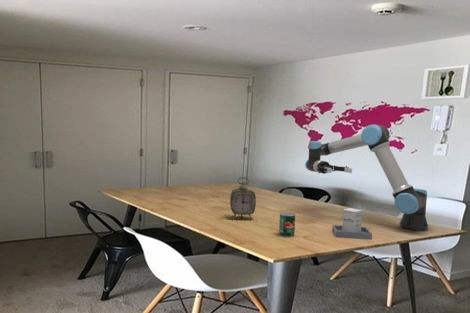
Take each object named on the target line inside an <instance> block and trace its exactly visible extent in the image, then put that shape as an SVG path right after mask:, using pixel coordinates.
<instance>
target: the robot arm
mask: <svg viewBox="0 0 470 313" xmlns="http://www.w3.org/2000/svg"><path fill="white" fill-rule="evenodd" d="M365 146H367V147H368V149H369V151H370V152H371V153H374V155H375V157H376V159H377V161H378V163H379V165H380V168H382V171H383V172H384V175H385V176H386V179H387V180H388V182H389V184H390V186H391V188H392V190H393V191H392V194H391V195H392V196H393V199H394V206H395V209H397V211H398V212H400V213H402V217H401V219H400V222H399V228H402V229H404V230H409V231H417V232H418V231H419V232H424V231H428V230H429V225H428V221H427V217H426V214H427V213H426V211H427V199H428V191H427V190H426V189H421V188H414V186H413V185H411V184H409V183H408V181H407V179H406V177H405V175H404V173H403V171H402V169H401V167H400V165H399V164H398V161H397V159H396V158H395V156H394V154H393V151H392V150H391V148H390V131H389V129H388V128H387V127H386V126H384V125H380V124H379V125H377V124H369V125H367V126H365V127H364V128H363V130H362V132H361V134H357V135H356V134H355V135H353V136H349V137H345V138H342V139H338V140H333V141H330V142H326V143H322V142H321V141H319V140H317V141H316V140H311V141H309V146H308V159H307V160H306V162H305V168H306V169H307V170H308V171H310V172H314V173H318V174H324V175H325V174H332V172H343V173H349V174H352V173H353V168H351V167H349V166H347V165H345V166H340V165H339V166H338V165H332V164H330V163H329V162H328V161H324V160H321V156H328V155H331V154H335V153H340V152H344V151H348V150H352V149H356V148H360V147H365Z"/></svg>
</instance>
